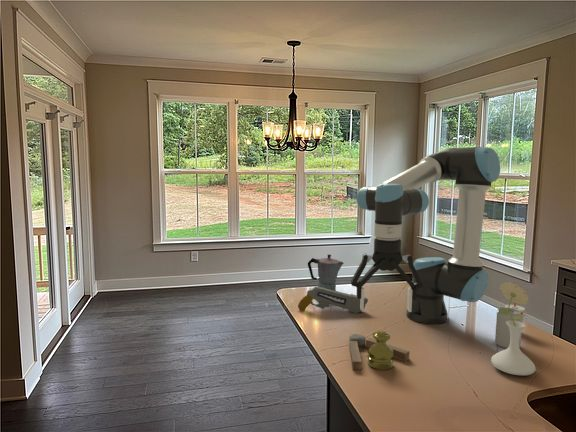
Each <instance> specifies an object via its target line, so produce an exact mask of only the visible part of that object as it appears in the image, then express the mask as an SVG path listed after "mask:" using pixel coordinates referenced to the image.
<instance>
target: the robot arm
mask: <svg viewBox="0 0 576 432" xmlns="http://www.w3.org/2000/svg"><path fill="white" fill-rule="evenodd" d="M499 157H500V156H499V155H498V153H497V151H496V150H494V149H493V148H492V147H486V146H485V147H484V146H473V147H472V146H469V147H468V146H467V147H449V148H445V149H442V150H439V151H436V152H433V153H431V154H429V155H427V156H425V157H423V158H422V159H420V160H419V162H418V163H417V164H415V165H413V166H412V167H410V168H408V169H406V170H403V171H402V172H400V173H399V174H396V175H394V176H393V177H390V178H389V179H386V180H385V181H383V182H381V183H379V184H376V185H374V186H364V187H361V188H360V189H359V190H358V192H357V194H356V202H357V203H356V204H357V205H358V207H359V208H360V209H362V210H365V211H371V212H372V211H374V217H375V218H374V237H375V238H374V239H373V254H367V253H366V252H365V253H363V254H362V259H361V261H360V264H358V267H357V269H356V271H355V272H354V274H353V276H352V278H351V280H350V284H351V286H352V287H356V295H357V298H358V299H360V309H361V312H363V311H364V310H365V309H364V297H365V287H364V286H365V285H366V283H367V282H368V281H369V280H370V279H371V278H372V277H373V276H374V275H375V273H377V272H378V271H379V270H380V271H390V272H393V271H394V270H396V272H398V274H400V276H401V277H402V278H403V279H404V280H405V282H406V283H407V285H409V287H407V297H406V299H407V300H406V313H405V314H406V317H408V318H409V319H410V320H412V321H415V322H419V323H421V324H423V323H424V324H429V325H431V324H433V325H436V324H443V323H445V322H447V321H448V311H447V307H446V304H445V303H446V302H445V299H444V297H445V296H446V297H449V298H453V299H456V300H459V301H463V302H467V303H468V302H469V303H477V302H478V301H480V300H481V299H482V297H483V296H484V295H485V294H486V291H487V289H488V285H489V281H490V280H489V275H488V272H486V271H485V270H484V269H483V267H484V264H483V263H482V262H481V260H480V253H481V252H480V251H481V244H482V243H481V242H482V232H483V224H484V223H483V222H484V214H485V213H484V211H485V203H486V195H487V194H486V193H487V191H488V190H489V189H490V188H492V183H493V182H496V181H497V180H498V179H499V177H500V174H501V163H500V158H499ZM442 180H443V181H444V180H446V181H447V180H448V181H455V182H454V185H455V187H456V188H457V189H458V200H457V210H456V218H455V219H456V221H455V228H454V229H455V230H454V238H453V239H454V241H453V251H452V256H451V257H450V258H449V259H447V261H446V258H445V257H439V256H438V257H436V256H432V257H431V256H430V257H429V256H428V257H420V258H417V259H415V260H414V261H413V257H412V255H411V254H409V253H407V254H406V255H402V240H401V238H402V229H403V228H402V227H403V226H402V224H403V217H404V216H411V215H414V216H415V215H419V214H422V213H424V212H425V211H427V209H428V208H429V203H430V201H429V199H430V198H429V195H428V194H427V192H426V191H424V190H423V189H420V188H421V187H423V186H425V185H427V184H428V183H431V184H432V183H436V182H438V181H442ZM371 260H372V261H373V262H374V263H373V264H372V265H371V268H369V269H368V271H366V273H365V274H364V275H363V276H362V274H363V272H364V271H365V268H366V266H367V264H368V263H370V261H371ZM402 261H403V262H404V263H405V264H407V267H408V269H409V270H410V272H411V274H412V280H411V278H410V277H409V276H408V275H407V274H406V272H405V271H404V270H403V269H402V267H401V266H400V264H401V263H402ZM361 276H362V277H361ZM360 277H361V278H360Z"/></svg>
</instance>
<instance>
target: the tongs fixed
mask: <svg viewBox="0 0 576 432" xmlns="http://www.w3.org/2000/svg"><path fill="white" fill-rule="evenodd" d="M348 340H349V342H348V345H349V346H348V349H349V353H350V354H349V355H350V361H351V366H352V367H351V368H352V370H353V371H354V370H355V371H361V370H362V359H361V353H360V349H363V348H366V340H367V339H366V336H364V335H363V334H359V333H358V334H357V333H355V334H350V335H349V337H348Z"/></svg>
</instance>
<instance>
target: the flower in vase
mask: <svg viewBox="0 0 576 432" xmlns="http://www.w3.org/2000/svg"><path fill="white" fill-rule="evenodd" d="M499 290H500V291H501V292H502V295H503V296H504V297H505V298H506V299H507V300H508V301H509V303H508V305H509V306H508V310H506V309H505V306H504V307H503V306H500V307H499V308H498V309H497V312H499V311H501V312H502V313H504V314H506V315H508V314H510V316H511V313H510V310H509V308H510V304H512V303H513V304H514V303H516V305H518V306H521V305H522V306H523V305H528V303H529V300H530V299H529V295H527V293H528V292H527V291H526V290H524V288H522V287H520V286H519V284H516V283H515V284H514V283H513V282H509V281H507V282H503V283H502V284H500V288H499ZM525 316H526V314H523V315H518V316H516V317H514V318H512V316H511V319H512V321H507V322H506V324H507V325H508V327H509V330H510V345H509V347H508V348H507V349H505V348H504V349H503V350H501V351H498V352H497V353H494V354H493V355H492V356H491V359H490V362H491V364H492V365H493V367H495V368H496V369H497V370H499V371H502V372H504V373H506V374H510V375H512V376H513V375H514V376H529V375H530V376H531V375H533V374H534V373H535V372H536V368H537V367H536V366H535V365H536V364H534V362H533V361H532V360H531V359H530V358H529V357H528V356H527V355H526V354H524V353H523V352H522V351H521V349H520V347H519V338H520V334H521V332H522V331H523V330H524V329H525V328H526V327H527V325H526V324H525V323H524V322H518V321H514V320H513V319H519V318H522V317H525ZM522 333H523V332H522ZM521 335H522V334H521Z"/></svg>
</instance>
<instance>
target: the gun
mask: <svg viewBox="0 0 576 432" xmlns="http://www.w3.org/2000/svg"><path fill="white" fill-rule="evenodd" d="M306 293H307V294H306V295H305V296H303V297H302V298H301V299H300V301H299V302H298V305H297V309H298V311H301V312H305V310H307V308H308V306H309V305H310V304H311V305H312V306H314V307H316V308H320V309H322V310H324V309H325V308H329V307H330V305H331V306H334V307H335V308H336V307H338V308H340V309H342V310H347V311H349V312H351V313H352V314H353V313H354V314H358V313H362V311H361V309H360V299H358V298H357V294H353V293H351V294H348V293H345V292H342V291H337V290H336V291H334V290H330V289H326V288H322V287H318V285H317V286H314V287H313V288H312V289H309V290H307V292H306ZM313 300H314V301H318V303H317V304H316V303H314V302H313ZM368 302H369V298H367V297H365V296H364V310H365V308H366V306H367V304H368Z"/></svg>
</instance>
